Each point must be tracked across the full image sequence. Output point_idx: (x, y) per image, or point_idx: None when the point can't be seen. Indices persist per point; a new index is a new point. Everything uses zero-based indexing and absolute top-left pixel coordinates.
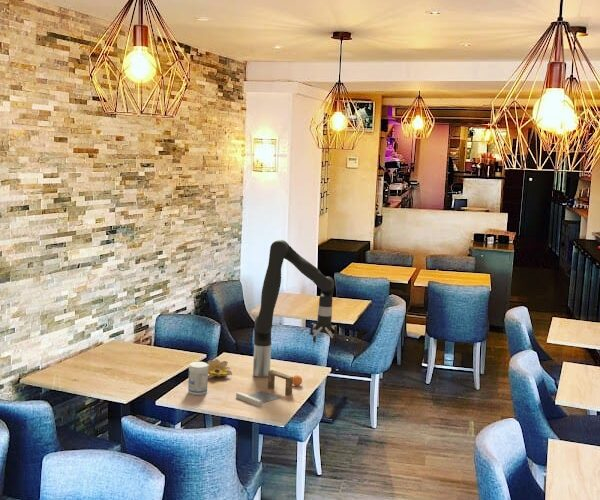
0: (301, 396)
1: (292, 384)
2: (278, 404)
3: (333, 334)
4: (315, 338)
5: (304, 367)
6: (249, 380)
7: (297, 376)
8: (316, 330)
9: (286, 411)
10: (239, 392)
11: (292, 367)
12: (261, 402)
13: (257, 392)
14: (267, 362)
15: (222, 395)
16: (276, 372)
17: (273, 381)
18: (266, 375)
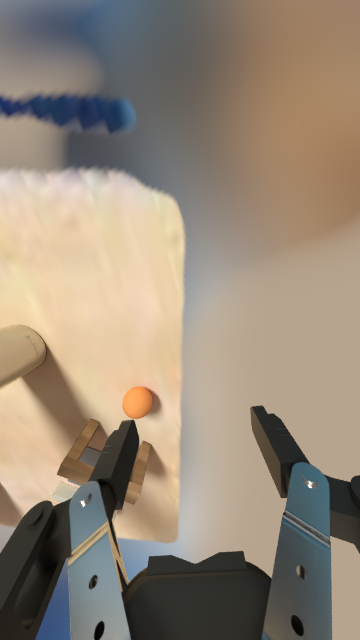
0: (174, 448)
1: (145, 469)
2: (145, 493)
3: (345, 515)
4: (126, 485)
5: (103, 223)
6: (24, 396)
7: (136, 416)
8: (72, 572)
9: (170, 514)
10: (55, 495)
11: (68, 242)
12: (116, 513)
13: (80, 457)
14: (4, 383)
15: (30, 483)
16: (83, 477)
17: (89, 440)
18: (41, 361)
